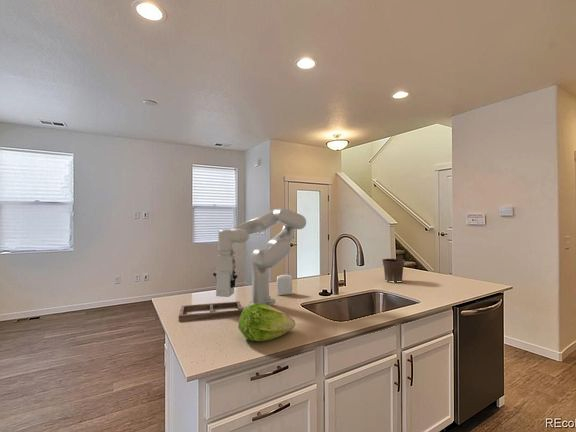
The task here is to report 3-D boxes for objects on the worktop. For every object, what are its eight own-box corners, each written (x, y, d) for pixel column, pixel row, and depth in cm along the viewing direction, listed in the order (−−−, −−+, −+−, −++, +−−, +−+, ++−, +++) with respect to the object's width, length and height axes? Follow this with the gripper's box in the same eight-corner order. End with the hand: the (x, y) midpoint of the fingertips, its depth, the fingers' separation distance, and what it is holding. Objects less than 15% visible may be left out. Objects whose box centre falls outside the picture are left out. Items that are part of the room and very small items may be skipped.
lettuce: (279, 336, 135) (294, 355, 121) (231, 326, 125) (241, 346, 111) (291, 306, 136) (308, 322, 122) (244, 294, 125) (256, 309, 111)
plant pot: (383, 283, 217) (383, 261, 217) (380, 278, 233) (380, 258, 233) (407, 284, 214) (407, 262, 214) (402, 279, 230) (402, 258, 230)
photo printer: (277, 295, 184) (277, 276, 184) (275, 294, 188) (275, 274, 188) (293, 294, 187) (293, 275, 187) (291, 292, 191) (291, 273, 191)
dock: (242, 315, 149) (242, 310, 148) (178, 321, 141) (178, 316, 141) (239, 305, 164) (239, 301, 164) (181, 310, 156) (181, 305, 156)
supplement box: (229, 297, 150) (229, 272, 150) (215, 296, 151) (215, 271, 151) (234, 293, 157) (234, 269, 157) (221, 292, 158) (221, 269, 158)
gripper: (243, 253, 154) (243, 286, 155) (215, 251, 160) (215, 283, 160) (236, 255, 147) (236, 289, 147) (207, 253, 153) (207, 286, 153)
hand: (225, 286), depth 154 cm, fingers closed on supplement box, 8 cm apart
